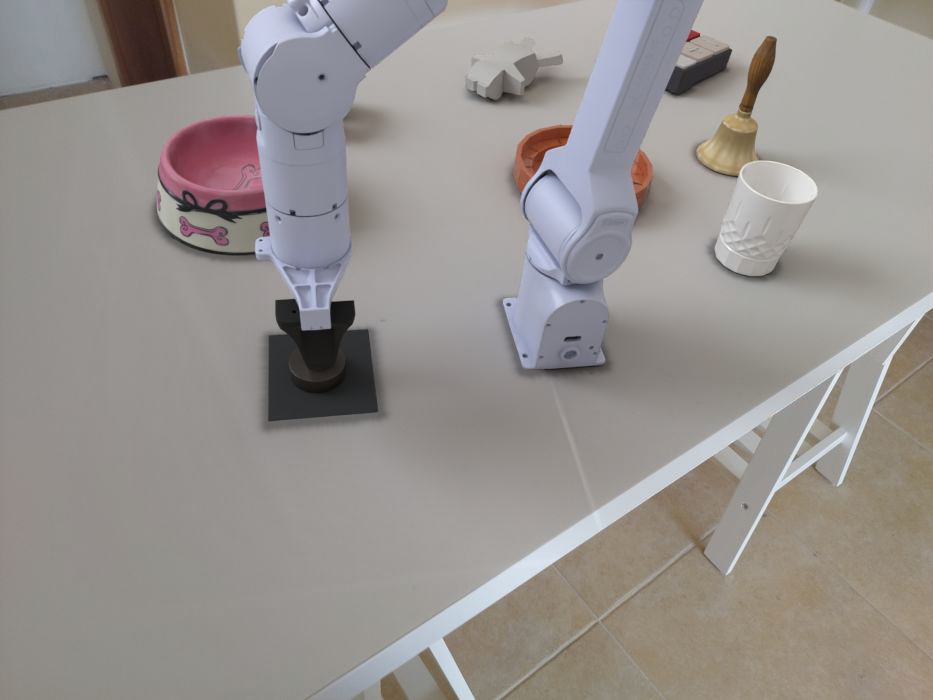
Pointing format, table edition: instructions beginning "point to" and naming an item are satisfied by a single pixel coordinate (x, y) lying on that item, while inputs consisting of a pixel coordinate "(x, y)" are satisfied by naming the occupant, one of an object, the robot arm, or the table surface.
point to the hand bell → (740, 121)
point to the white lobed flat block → (508, 68)
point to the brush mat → (342, 400)
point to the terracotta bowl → (557, 136)
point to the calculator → (698, 61)
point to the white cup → (763, 216)
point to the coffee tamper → (316, 374)
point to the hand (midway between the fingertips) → (318, 331)
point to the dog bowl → (213, 186)
